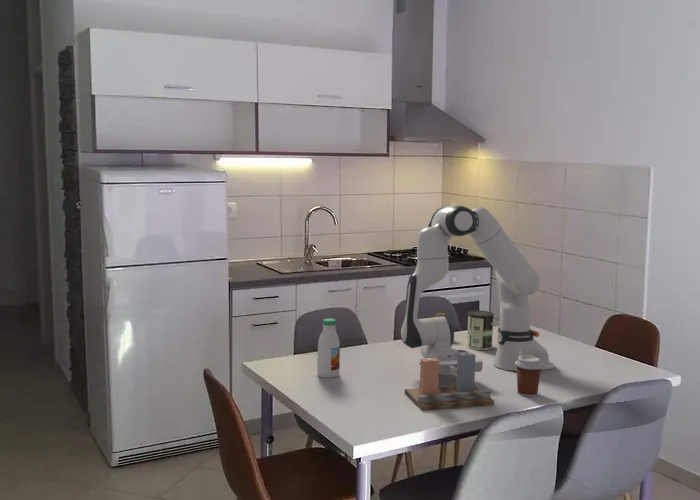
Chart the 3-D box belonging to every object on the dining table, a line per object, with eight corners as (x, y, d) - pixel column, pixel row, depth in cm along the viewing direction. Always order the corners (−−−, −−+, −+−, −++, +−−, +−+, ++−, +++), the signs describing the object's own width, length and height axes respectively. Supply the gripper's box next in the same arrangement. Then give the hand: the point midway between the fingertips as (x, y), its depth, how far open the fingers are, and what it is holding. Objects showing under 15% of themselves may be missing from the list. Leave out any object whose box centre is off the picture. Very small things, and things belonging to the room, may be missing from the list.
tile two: (470, 388, 242) (471, 352, 240) (473, 391, 239) (475, 354, 237) (456, 389, 240) (457, 352, 239) (459, 392, 237) (461, 355, 236)
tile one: (434, 394, 235) (435, 357, 233) (437, 397, 232) (439, 360, 230) (419, 395, 233) (420, 358, 232) (422, 398, 230) (424, 360, 229)
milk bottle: (323, 379, 252) (324, 322, 250) (313, 373, 259) (314, 318, 256) (343, 376, 256) (344, 320, 253) (333, 370, 263) (334, 316, 260)
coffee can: (489, 343, 304) (491, 310, 302) (494, 350, 294) (495, 316, 292) (464, 343, 304) (466, 309, 302) (468, 349, 294) (469, 315, 292)
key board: (472, 388, 246) (473, 378, 245) (493, 405, 230) (494, 394, 230) (404, 393, 240) (405, 383, 239) (421, 410, 224) (422, 399, 224)
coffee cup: (529, 400, 236) (531, 364, 234) (507, 392, 243) (509, 357, 242) (547, 395, 241) (549, 359, 240) (525, 387, 249) (527, 353, 247)
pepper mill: (446, 341, 307) (448, 315, 306) (432, 340, 308) (433, 314, 307) (448, 337, 313) (449, 312, 311) (433, 336, 314) (434, 311, 313)
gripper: (417, 353, 252) (432, 365, 239) (472, 350, 257) (489, 361, 244) (417, 371, 253) (431, 383, 240) (471, 367, 258) (489, 379, 245)
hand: (461, 372), depth 242 cm, fingers closed
